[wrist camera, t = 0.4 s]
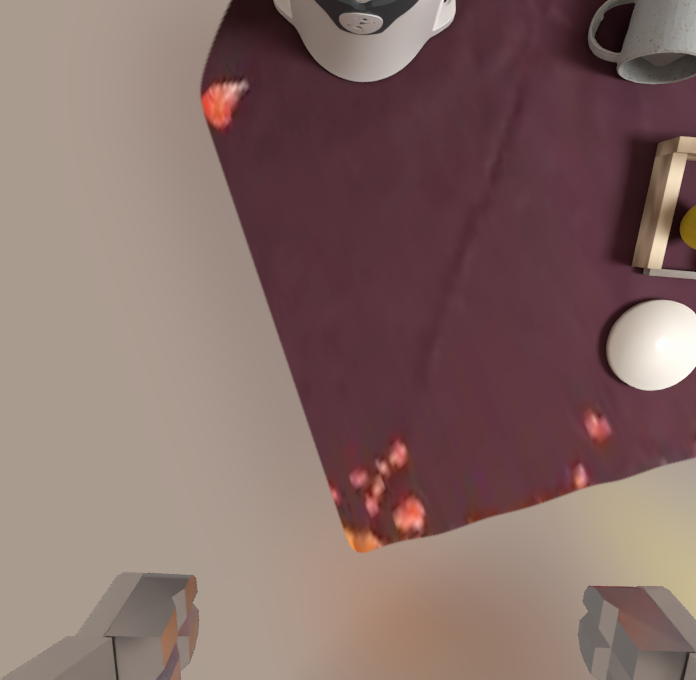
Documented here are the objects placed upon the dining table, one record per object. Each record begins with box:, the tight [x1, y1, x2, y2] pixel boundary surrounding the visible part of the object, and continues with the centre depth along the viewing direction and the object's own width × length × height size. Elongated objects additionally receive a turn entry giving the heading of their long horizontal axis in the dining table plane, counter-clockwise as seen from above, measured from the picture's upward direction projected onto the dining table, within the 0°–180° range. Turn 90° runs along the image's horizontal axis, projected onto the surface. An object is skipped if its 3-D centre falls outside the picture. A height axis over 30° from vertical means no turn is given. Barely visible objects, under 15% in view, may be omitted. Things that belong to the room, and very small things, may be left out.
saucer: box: [606, 299, 696, 390], centre depth 55 cm, size 11×11×1 cm
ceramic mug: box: [588, 0, 696, 84], centre depth 45 cm, size 11×8×8 cm
